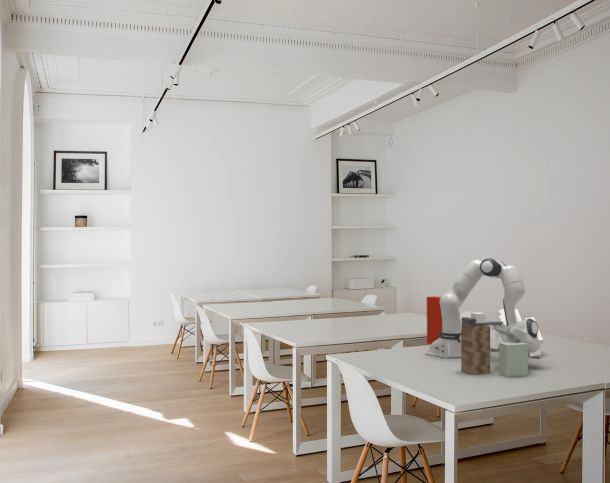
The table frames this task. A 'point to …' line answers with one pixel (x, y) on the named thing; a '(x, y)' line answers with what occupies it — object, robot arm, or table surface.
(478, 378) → the table surface
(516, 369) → the block
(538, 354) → the pile of blocks
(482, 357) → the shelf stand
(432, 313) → the file binder
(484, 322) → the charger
